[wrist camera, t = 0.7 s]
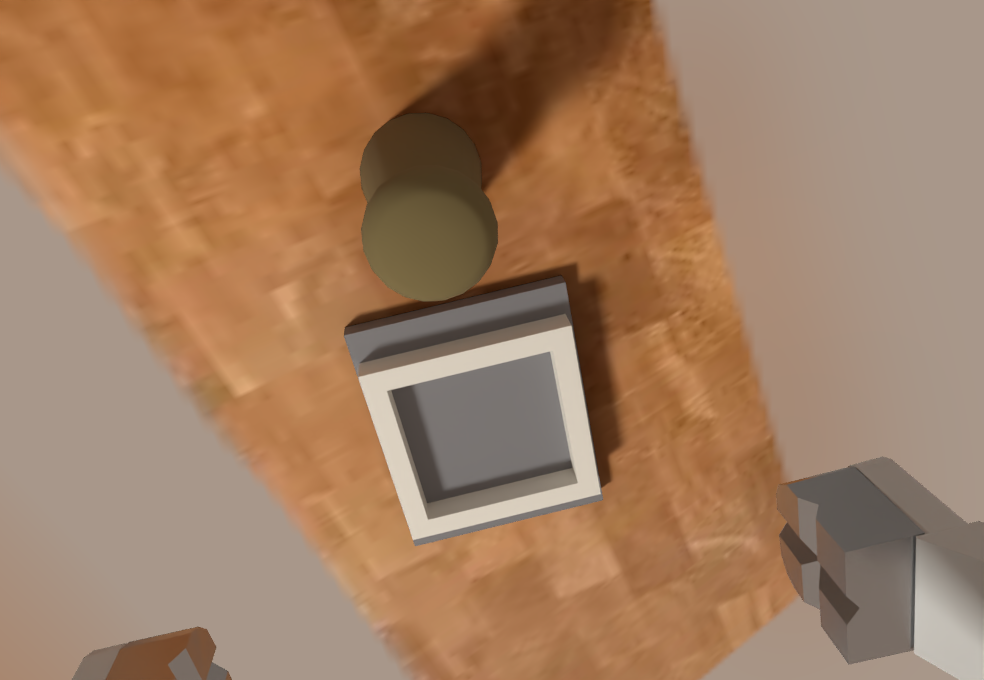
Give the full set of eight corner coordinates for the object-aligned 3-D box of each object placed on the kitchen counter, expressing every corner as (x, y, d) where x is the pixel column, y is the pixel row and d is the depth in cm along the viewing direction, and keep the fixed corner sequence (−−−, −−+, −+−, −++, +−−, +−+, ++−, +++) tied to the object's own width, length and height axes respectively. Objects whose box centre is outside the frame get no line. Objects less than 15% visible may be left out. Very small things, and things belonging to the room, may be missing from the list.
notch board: (344, 327, 39) (342, 348, 37) (561, 275, 40) (571, 293, 37) (414, 535, 46) (415, 563, 44) (599, 489, 47) (609, 515, 44)
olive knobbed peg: (470, 101, 35) (500, 149, 25) (491, 220, 38) (526, 307, 28) (345, 126, 35) (327, 185, 25) (376, 244, 38) (370, 339, 28)
